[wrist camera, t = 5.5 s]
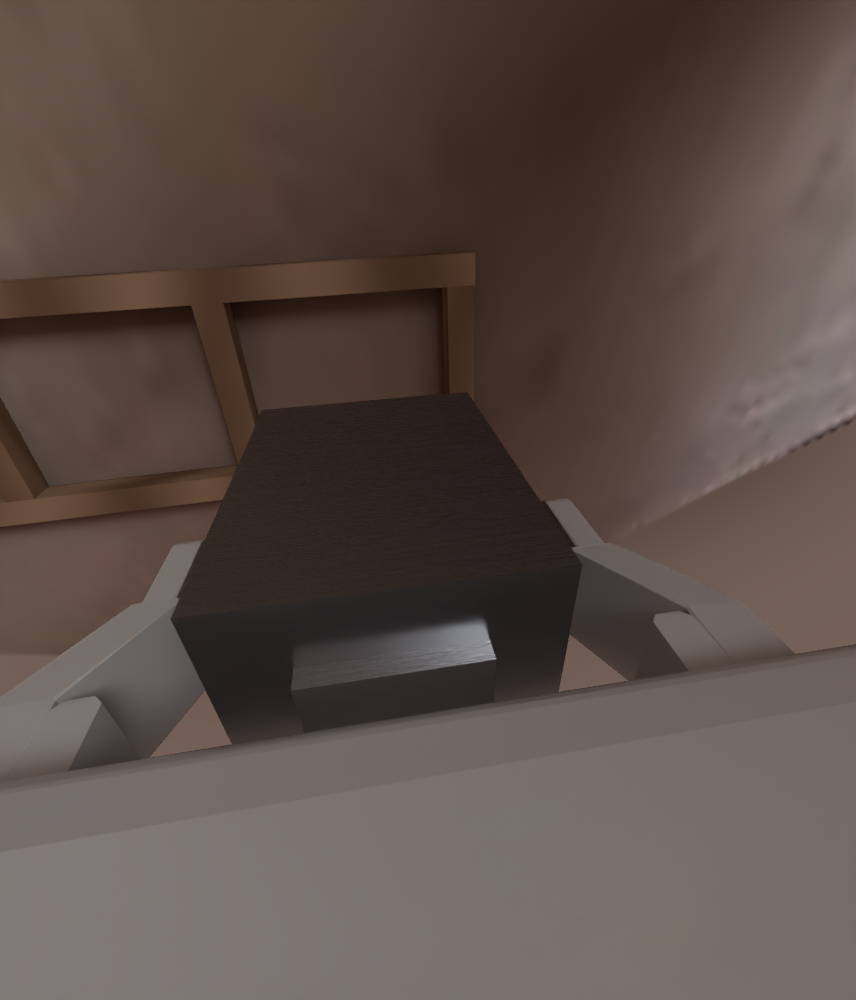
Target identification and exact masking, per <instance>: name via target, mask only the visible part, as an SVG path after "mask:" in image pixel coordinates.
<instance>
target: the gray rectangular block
mask: <svg viewBox="0 0 856 1000" xmlns="http://www.w3.org/2000/svg"><path fill="white" fill-rule="evenodd" d="M581 570H582V563H581V561H580V560H579V558H578V557H577V555H576V554H575V552H574V551H573V549H572V548H571V546H570V545H569V543H568V542H567V540H566V539H565V537H564V536H563V534H562V533H561V531H560V530H559V528H558V527H557V525H556V524H555V522H554V521H553V519H552V518H551V516H550V515H549V513H548V512H547V510H546V509H545V507H544V506H543V504H542V503H541V501H540V500H539V498H538V497H537V495H536V494H535V492H534V491H533V489H532V488H531V486H530V485H529V483H528V482H527V480H526V479H525V477H524V476H523V475H522V473H521V472H520V470H519V469H518V467H517V466H516V464H515V463H514V461H513V460H512V458H511V457H510V455H509V454H508V452H507V451H506V449H505V448H504V446H503V445H502V443H501V442H500V440H499V439H498V437H497V436H496V434H495V433H494V431H493V430H492V428H491V427H490V425H489V424H488V422H487V421H486V419H485V418H484V416H483V415H482V413H481V412H480V410H479V409H478V407H477V406H476V404H475V403H474V401H473V400H472V398H471V397H470V395H469V394H468V392H460V393H449V394H438V395H427V396H415V397H404V398H393V399H382V400H371V401H359V402H348V403H337V404H326V405H315V406H303V407H292V408H281V409H270V410H262V412H261V414H260V416H259V418H258V421H257V423H256V425H255V428H254V430H253V432H252V434H251V437H250V439H249V441H248V443H247V446H246V448H245V450H244V453H243V455H242V457H241V459H240V462H239V464H238V466H237V468H236V471H235V473H234V475H233V478H232V480H231V482H230V484H229V487H228V489H227V491H226V494H225V496H224V498H223V500H222V503H221V505H220V507H219V509H218V512H217V514H216V516H215V519H214V521H213V523H212V525H211V528H210V530H209V532H208V535H207V537H206V539H205V541H204V544H203V546H202V548H201V550H200V553H199V555H198V557H197V560H196V562H195V564H194V566H193V569H192V571H191V573H190V576H189V578H188V580H187V582H186V585H185V587H184V589H183V591H182V594H181V596H180V598H179V601H178V603H177V605H176V607H175V610H174V612H173V614H172V616H171V621H172V623H173V625H174V627H175V629H176V631H177V633H178V636H179V638H180V640H181V642H182V644H183V646H184V648H185V650H186V652H187V654H188V656H189V658H190V660H191V662H192V664H193V666H194V668H195V670H196V672H197V674H198V676H199V678H200V680H201V682H202V684H203V686H204V688H205V690H206V692H207V694H208V696H209V698H210V700H211V702H212V704H213V706H214V708H215V710H216V712H217V715H218V717H219V719H220V721H221V723H222V725H223V727H224V729H225V731H226V733H227V735H228V737H229V739H230V741H231V743H232V744H239V743H245V742H251V741H257V740H264V739H270V738H276V737H282V736H288V735H295V734H301V733H307V732H313V731H319V730H326V729H332V728H338V727H344V726H350V725H357V724H363V723H369V722H375V721H381V720H388V719H394V718H400V717H406V716H413V715H419V714H425V713H431V712H437V711H444V710H450V709H456V708H462V707H468V706H475V705H481V704H487V703H493V702H500V701H506V700H512V699H518V698H524V697H531V696H537V695H543V694H549V693H556V692H559V686H560V681H561V675H562V670H563V665H564V660H565V654H566V649H567V644H568V638H569V633H570V628H571V623H572V617H573V612H574V607H575V601H576V596H577V591H578V586H579V580H580V575H581Z"/></svg>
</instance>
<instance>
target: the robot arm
mask: <svg viewBox="0 0 856 1000" xmlns="http://www.w3.org/2000/svg"><path fill="white" fill-rule="evenodd" d="M541 503H542V504H543V506H544V507H545V509H546V510H547V512H548V513H549V515H550V516H551V518H552V519H553V521H554V522H555V524H556V525H557V527H558V528H559V530H560V531H561V533H562V534H563V536H564V537H565V539H566V540H567V542H568V543H569V545H570V546H571V548H572V549H573V551H574V552H575V554H576V555H577V557H578V558H579V560H580V561H581V563H582V570H581V575H580V580H579V586H578V591H577V596H576V601H575V607H574V612H573V617H572V623H571V628H570V633H569V634H570V635H571V636H573V637H574V638H576V639H577V640H578V641H579V642H580V643H582V644H583V645H584V646H585V647H587V648H588V649H589V650H590V651H592V652H593V653H594V654H596V655H597V656H598V657H599V658H601V659H602V660H603V661H605V662H606V663H607V664H608V665H609V666H611V667H612V668H613V669H615V670H616V671H617V672H618V673H620V674H621V675H622V676H623V677H625V678H626V679H627V680H628V681H624V682H618V683H612V684H606V685H600V686H593V687H587V688H581V689H574V690H568V691H562V692H556V693H549V694H543V695H537V696H531V697H524V698H518V699H512V700H506V701H500V702H493V703H487V704H481V705H475V706H468V707H462V708H456V709H450V710H444V711H437V712H431V713H425V714H419V715H413V716H406V717H400V718H394V719H388V720H381V721H375V722H369V723H363V724H357V725H350V726H344V727H338V728H332V729H326V730H319V731H313V732H307V733H301V734H295V735H288V736H282V737H276V738H270V739H264V740H257V741H251V742H245V743H239V744H232V745H227V746H220V747H214V748H208V749H201V750H195V751H189V752H183V753H177V754H170V755H165V756H158V757H152V758H149V757H150V756H151V755H152V753H153V752H154V751H155V750H156V749H157V748H158V746H159V745H160V744H161V743H162V742H163V740H164V739H165V738H166V737H167V736H168V734H169V733H170V732H171V731H172V729H173V728H174V727H175V726H176V725H177V723H178V722H179V721H180V720H181V719H182V717H183V716H184V715H185V714H186V713H187V711H188V710H189V709H190V708H191V706H192V705H193V704H194V703H195V702H196V700H197V699H198V698H199V697H200V696H201V694H202V693H203V692H204V691H205V688H204V686H203V684H202V682H201V680H200V678H199V676H198V674H197V672H196V670H195V668H194V666H193V664H192V662H191V660H190V658H189V656H188V654H187V652H186V650H185V648H184V646H183V644H182V642H181V640H180V638H179V636H178V633H177V631H176V629H175V627H174V625H173V623H172V621H171V616H172V614H173V612H174V610H175V607H176V605H177V603H178V601H179V598H180V596H181V594H182V591H183V589H184V587H185V585H186V582H187V580H188V578H189V576H190V573H191V571H192V569H193V566H194V564H195V562H196V560H197V557H198V555H199V553H200V550H201V548H202V546H203V544H204V541H205V540H196V541H188V542H179V543H177V544H175V545H173V546H172V548H171V550H170V552H169V553H168V555H167V557H166V559H165V561H164V563H163V565H162V566H161V568H160V570H159V572H158V574H157V576H156V578H155V579H154V581H153V583H152V585H151V587H150V589H149V590H148V592H147V594H146V596H145V598H144V600H143V602H142V603H136V604H132V605H131V606H129V607H128V608H126V609H125V610H123V611H122V612H121V613H119V614H118V615H116V616H115V617H114V618H112V619H111V620H109V621H108V622H106V623H105V624H104V625H102V626H101V627H99V628H98V629H96V630H95V631H94V632H92V633H91V634H89V635H88V636H86V637H85V638H84V639H82V640H81V641H79V642H78V643H77V644H75V645H74V646H72V647H71V648H69V649H68V650H67V651H65V652H64V653H62V654H61V655H59V656H58V657H57V658H55V659H54V660H52V661H51V662H50V663H48V664H47V665H45V666H44V667H43V668H41V669H40V670H38V671H37V672H35V673H34V674H33V675H31V676H30V677H28V678H27V679H25V680H24V681H22V682H21V683H20V684H18V685H17V686H15V687H14V688H13V689H11V690H10V691H8V692H7V693H5V694H4V695H3V696H1V697H0V1000H856V644H854V645H848V646H842V647H835V648H829V649H823V650H817V651H810V652H805V653H798V654H795V653H794V652H793V651H792V650H791V649H790V648H789V647H788V646H787V645H786V644H785V643H784V642H783V641H782V640H781V639H780V638H779V637H778V636H777V635H776V634H775V633H774V632H773V631H772V630H771V629H770V628H769V627H768V626H767V625H765V623H764V622H763V621H761V619H760V618H759V617H757V615H755V613H754V612H752V611H751V610H750V609H749V608H748V607H747V606H746V605H745V604H744V603H743V602H742V601H741V600H739V599H737V598H735V597H732V596H730V595H728V594H726V593H724V592H721V591H719V590H717V589H715V588H712V587H710V586H708V585H705V584H703V583H701V582H698V581H696V580H694V579H692V578H690V577H688V576H685V575H683V574H681V573H679V572H677V571H674V570H672V569H670V568H668V567H665V566H663V565H661V564H659V563H656V562H654V561H651V560H650V559H647V558H645V557H643V556H641V555H638V554H636V553H634V552H632V551H629V550H627V549H625V548H623V547H621V546H618V545H616V544H614V543H606V544H605V543H604V542H603V541H602V539H601V538H600V537H599V536H598V534H597V533H596V532H595V531H594V529H593V528H592V527H591V526H590V524H589V523H588V522H587V520H586V519H585V518H584V517H583V515H582V514H581V513H580V512H579V510H578V509H577V508H576V507H575V505H574V504H573V503H572V502H571V500H570V499H568V498H558V499H552V500H545V501H542V502H541Z"/></svg>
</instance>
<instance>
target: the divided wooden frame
mask: <svg viewBox="0 0 856 1000" xmlns="http://www.w3.org/2000/svg"><path fill="white" fill-rule="evenodd" d="M428 288H442V314H443V351H444V387H445V394H449V393H460V392H468V394H469V395H470V397H471V398H472V400H473V401H474V387H475V253H474V252H452V253H436V254H419V255H403V256H387V257H371V258H354V259H338V260H322V261H306V262H289V263H273V264H257V265H241V266H225V267H208V268H192V269H176V270H160V271H143V272H127V273H111V274H95V275H78V276H62V277H46V278H30V279H14V280H0V319H6V318H20V317H34V316H48V315H62V314H76V313H90V312H104V311H118V310H132V309H146V308H160V307H174V306H188V305H191V307H192V310H193V314H194V317H195V320H196V324H197V327H198V331H199V334H200V337H201V341H202V344H203V348H204V351H205V354H206V358H207V361H208V365H209V368H210V371H211V375H212V378H213V382H214V385H215V388H216V392H217V395H218V399H219V402H220V405H221V409H222V412H223V416H224V419H225V422H226V426H227V429H228V433H229V436H230V439H231V443H232V446H233V450H234V453H235V456H236V460H237V463H238V464H239V462H240V459H241V457H242V455H243V453H244V450H245V448H246V446H247V443H248V441H249V439H250V437H251V434H252V432H253V430H254V428H255V425H256V423H257V421H258V418H259V415H258V411H257V407H256V403H255V399H254V395H253V391H252V388H251V384H250V380H249V376H248V372H247V368H246V364H245V360H244V356H243V352H242V348H241V344H240V340H239V336H238V332H237V328H236V324H235V320H234V316H233V312H232V308H231V304H230V303H231V302H245V301H259V300H273V299H287V298H301V297H315V296H329V295H343V294H357V293H371V292H385V291H399V290H413V289H428ZM237 466H238V465H233V466H224V467H216V468H207V469H198V470H189V471H180V472H172V473H163V474H154V475H145V476H137V477H128V478H119V479H110V480H101V481H93V482H84V483H75V484H66V485H57V486H48V484H47V482H46V480H45V479H44V477H43V475H42V473H41V471H40V469H39V468H38V466H37V464H36V462H35V460H34V459H33V457H32V455H31V453H30V451H29V450H28V448H27V446H26V444H25V442H24V440H23V439H22V437H21V435H20V433H19V431H18V430H17V428H16V426H15V424H14V422H13V421H12V419H11V417H10V415H9V413H8V411H7V410H6V408H5V406H4V404H3V402H2V401H1V399H0V527H5V526H13V525H21V524H29V523H37V522H46V521H54V520H62V519H70V518H78V517H86V516H95V515H103V514H111V513H119V512H127V511H136V510H144V509H152V508H160V507H168V506H176V505H185V504H193V503H201V502H209V501H217V500H223V498H224V496H225V494H226V491H227V489H228V487H229V484H230V482H231V480H232V478H233V475H234V473H235V471H236V468H237Z"/></svg>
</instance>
